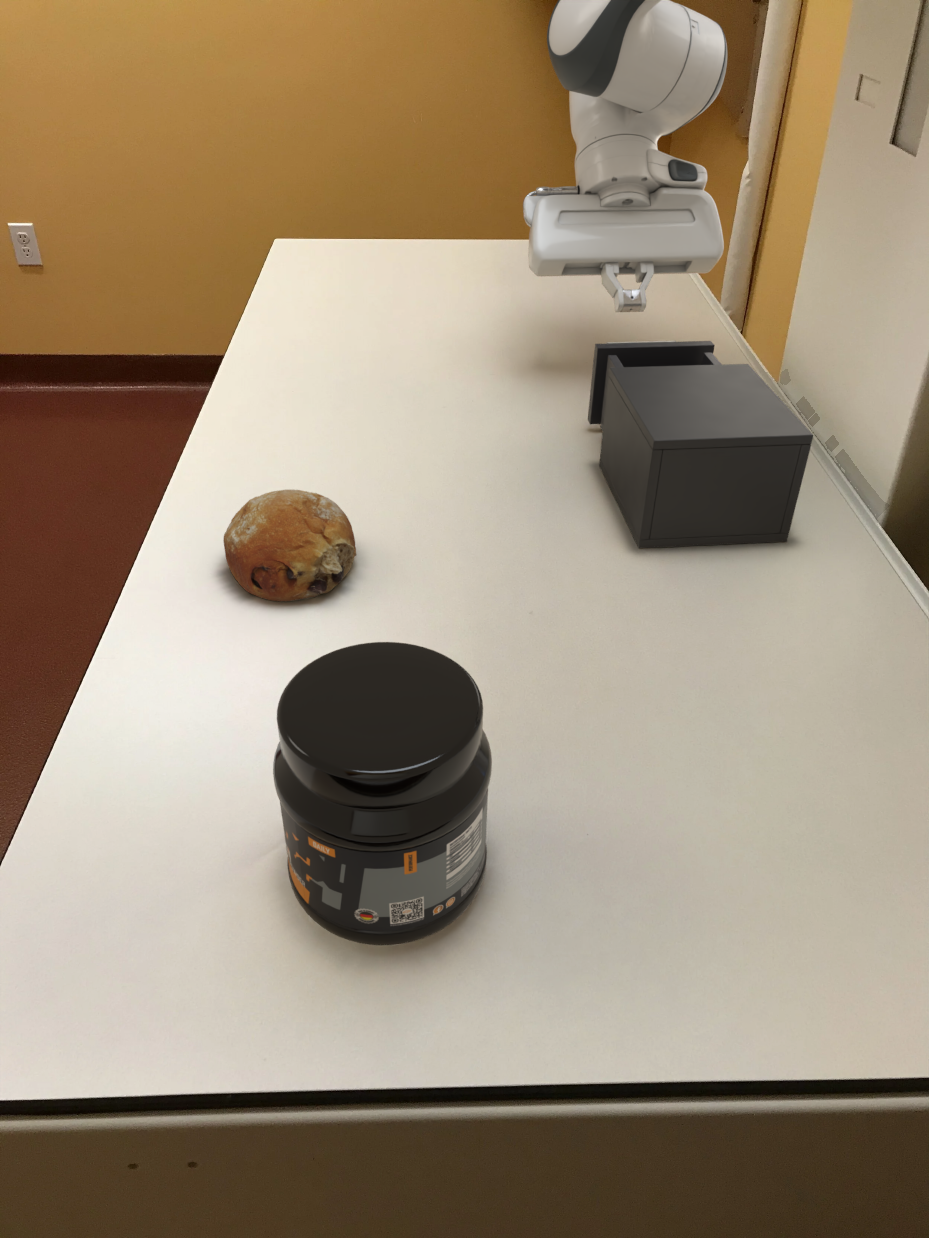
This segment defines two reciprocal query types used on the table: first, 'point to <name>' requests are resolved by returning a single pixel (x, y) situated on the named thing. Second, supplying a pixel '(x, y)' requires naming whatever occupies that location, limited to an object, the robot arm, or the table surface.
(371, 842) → the supplement container
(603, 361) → the grey drawer
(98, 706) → the table surface
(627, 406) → the dark grey cabinet
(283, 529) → the bread roll
